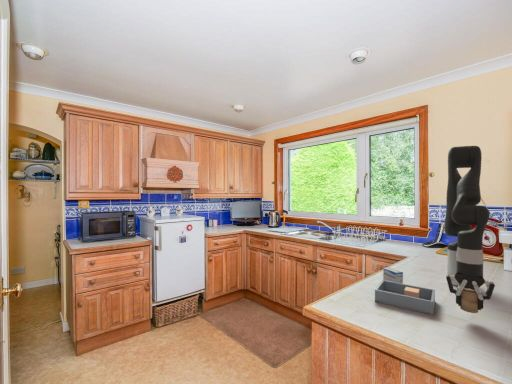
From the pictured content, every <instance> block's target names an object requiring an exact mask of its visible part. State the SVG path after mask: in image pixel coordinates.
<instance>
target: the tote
mask: <svg viewBox="0 0 512 384" xmlns="http://www.w3.org/2000/svg"><path fill="white" fill-rule="evenodd" d="M406 287H410V288H415V289H420V291H419V298H415V297H410V296H406V295H404V290H405V288H406ZM374 302H375V303H378V304H379V303H380V304H384V305H389V306H393V307H398V308H401V309H405V310H410V311H414V312H418V313H422V314H426V315H431V316H434V313H433V312H434V311H435V304H436V303H435V302H436V290H435V289H433V288H428V287H422V286H417V285H412V284H406V283H403V284H402V283H396V282H391V281H386V280H383V279H381V281H380V283H378V285H377V286H376V288H375V289H374Z"/></svg>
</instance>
